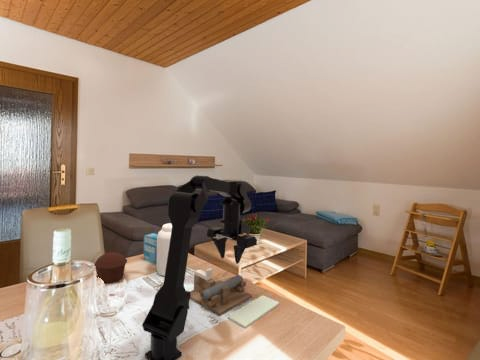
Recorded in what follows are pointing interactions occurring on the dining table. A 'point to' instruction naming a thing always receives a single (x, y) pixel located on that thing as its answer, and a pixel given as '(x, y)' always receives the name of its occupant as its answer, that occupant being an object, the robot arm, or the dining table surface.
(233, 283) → the grey rod
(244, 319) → the mat
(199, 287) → the cradle
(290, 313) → the dining table surface
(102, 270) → the muffin
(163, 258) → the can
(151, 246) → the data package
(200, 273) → the beige wooden bar
